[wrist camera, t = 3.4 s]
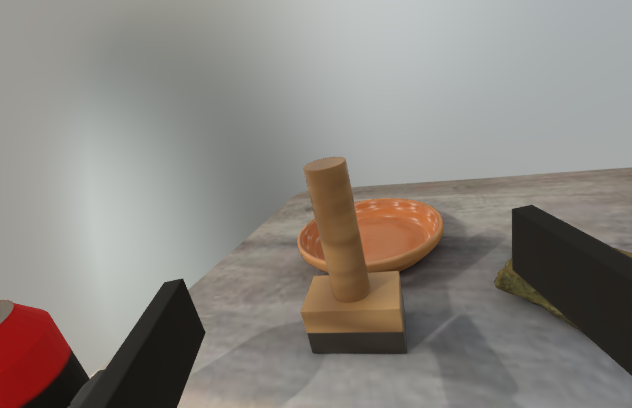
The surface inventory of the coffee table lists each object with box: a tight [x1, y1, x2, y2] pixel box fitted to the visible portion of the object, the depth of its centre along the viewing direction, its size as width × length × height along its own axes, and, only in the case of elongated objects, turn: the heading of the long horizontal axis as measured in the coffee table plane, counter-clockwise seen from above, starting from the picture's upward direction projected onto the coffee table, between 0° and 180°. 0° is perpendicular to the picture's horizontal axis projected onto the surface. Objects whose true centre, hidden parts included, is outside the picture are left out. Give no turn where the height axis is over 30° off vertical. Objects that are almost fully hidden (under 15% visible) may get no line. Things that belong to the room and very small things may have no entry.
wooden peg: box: [301, 157, 407, 354], centre depth 24 cm, size 7×4×14 cm, turn 77°
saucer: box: [298, 198, 443, 273], centre depth 37 cm, size 16×16×3 cm
